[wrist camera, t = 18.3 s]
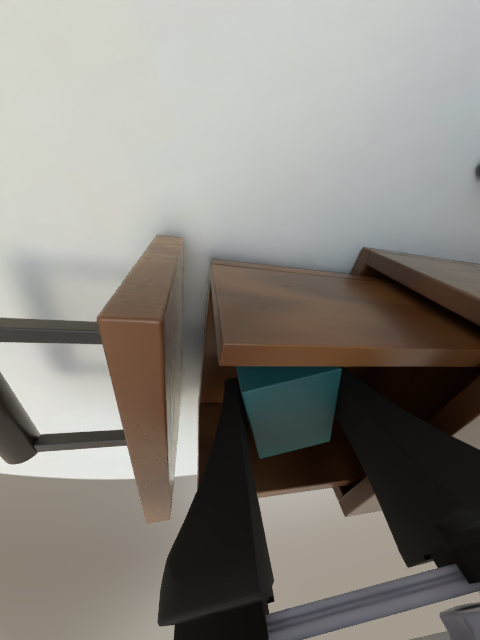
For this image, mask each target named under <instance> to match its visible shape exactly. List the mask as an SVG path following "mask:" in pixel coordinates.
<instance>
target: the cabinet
mask: <svg viewBox="0 0 480 640" xmlns="http://www.w3.org/2000/svg"><path fill="white" fill-rule="evenodd" d="M350 275H359V276H368V277H377V278H386V279H393V280H395V281H397V282H399V283H400V284H402V285H404V286H406V287H408V288H410V289H411V290H413V291H415V292H417V293H419V294H421V295H423V296H424V297H426V298H428V299H430V300H432V301H434V302H436V303H437V304H439V305H441V306H443V307H445V308H447V309H448V310H450V311H452V312H454V313H456V314H458V315H460V316H461V317H463V318H465V319H467V320H469V321H471V322H472V323H474V324H476V325H478V326H480V264H474V263H467V262H461V261H454V260H447V259H440V258H434V257H427V256H420V255H413V254H407V253H400V252H393V251H386V250H380V249H373V248H366V247H364V248H362V251H361V253H360V255H359V257H358V259H357V261H356V263H355V265H354V268H353V270H352V272H351V274H350ZM426 423H428V424H430V425H432V426H434V427H436V428H437V429H439V430H441V431H443V432H445V433H447V434H449V435H451V436H453V437H455V438H457V439H459V440H461V441H463V442H465V443H467V444H469V445H471V446H473V447H475V448H477V449H480V375H478V376H477V377H476V378H475V379H474V380H473V381H472V382H471V383H469V384H468V385H467V386H466V387H465V388H464V389H463V390H462V391H461V392H459V393H458V394H457V395H456V396H455V397H454V398H453V399H452V400H450V401H449V402H448V403H447V404H446V405H445V406H444V407H443V408H441V409H440V410H439V411H438V412H437V413H436V414H435V415H434V416H433V417H431V418H430V419H429V420H428V421H427V422H426ZM333 489H334V492H335V494H336V497H337V499H338V500H339V504H340V506H341V508H342V511H343V513H344V515H345V517H348V516H354V515H359V514H365V513H371V512H376V511H382V509H381V507H380V504H379V502H378V500H377V498H376V495H375V493H374V491H373V489H372V486H371V484H370V482H369V480H368V478H367V476H365V477H364V478H363V479H362V480H361V481H360V482H359V483H358V484H354V485H347V486H340V487H333Z"/></svg>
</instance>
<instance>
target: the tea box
mask: <svg viewBox="0 0 480 640" xmlns="http://www.w3.org/2000/svg"><path fill="white" fill-rule="evenodd" d="M236 368H237V374H238V379H239V384H240V390H241V394H242V398H243V402H244V405H245V409H246V412H247V416H248V420H249V423H250V427H251V431H252V434H253V438H254V441H255V445H256V449H257V452H258V456H259V458H260V459H262V458H266V457H270V456H273V455H277V454H281V453H285V452H289V451H293V450H297V449H301V448H305V447H309V446H313V445H317V444H321V443H325V442H329V441H330V438H331V432H332V426H333V420H334V414H335V408H336V402H337V396H338V390H339V384H340V377H341V371H342V369H341V367H340V366H236Z"/></svg>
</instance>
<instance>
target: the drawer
mask: <svg viewBox="0 0 480 640" xmlns="http://www.w3.org/2000/svg"><path fill="white" fill-rule="evenodd" d="M183 248H184V240H183V238H178V237H170V236H162V235H156V237H155V238H154V239H153V241H152V242H151V244H150V245H149V246H148V248H147V249H146V250H145V252H144V253H143V255H142V256H141V257H140V259H139V260H138V261H137V263H136V264H135V266H134V267H133V268H132V270H131V271H130V272H129V274H128V275H127V277H126V278H125V279H124V281H123V282H122V283H121V285H120V286H119V288H118V289H117V290H116V292H115V293H114V294H113V296H112V297H111V299H110V300H109V301H108V303H107V304H106V305H105V307H104V308H103V310H102V311H101V312H100V314H99V315H98V317H97V322H87V321H64V320H40V319H17V318H0V342H25V343H70V344H103V348H104V352H105V356H106V360H107V364H108V368H109V372H110V376H111V381H112V385H113V389H114V393H115V397H116V401H117V405H118V409H119V414H120V418H121V422H122V426H123V430H110V431H93V432H75V433H58V434H42V435H40V433H39V432H38V430H37V428H36V427H35V425H34V424H33V422H32V421H31V419H30V417H29V416H28V414H27V413H26V411H25V410H24V408H23V407H22V405H21V403H20V402H19V400H18V399H17V397H16V396H15V394H14V392H13V391H12V389H11V388H10V386H9V385H8V383H7V382H6V380H5V378H4V377H3V375H2V374H1V372H0V456H1V457H2V458H3V459H4V460H5V462H7V463H8V464H20V463H23V462H25V461H27V460H29V459H31V458H32V457H33V456H35V455H36V454H37V453H38V452H44V451H58V450H72V449H86V448H99V447H113V446H127V447H128V451H129V455H130V459H131V463H132V467H133V471H134V475H135V480H136V484H137V488H138V492H139V496H140V500H141V504H142V508H143V512H144V517H145V521H146V523H152V522H160V521H166V520H170V518H171V509H172V497H173V496H172V495H173V485H174V474H175V462H176V451H177V439H178V427H179V416H180V404H181V352H182V300H183ZM236 366H343V367H345V368H346V369H347V370H348V371H350V372H351V373H352V374H353V375H355V376H356V377H357V378H359V379H360V380H361V381H363V382H364V383H365V384H367V385H368V386H369V387H371V388H372V389H374V390H375V391H376V392H378V393H379V394H381V395H382V396H384V397H385V398H387V399H388V400H390V401H391V402H393V403H394V404H396V405H397V406H399V407H401V408H402V409H404V410H405V411H407V412H409V413H410V414H412V415H414V416H416V417H417V418H419V419H421V420H423V421H424V422H427V421H428V420H429V419H430V418H431V417H433V416H434V415H435V414H436V413H437V412H438V411H439V410H440V409H441V408H443V407H444V406H445V405H446V404H447V403H448V402H449V401H450V400H452V399H453V398H454V397H455V396H456V395H457V394H458V393H459V392H461V391H462V390H463V389H464V388H465V387H466V386H467V385H468V384H469V383H471V382H472V381H473V380H474V379H475V378H476V377H477V376H478V375H480V326H478V325H476V324H474V323H472V322H471V321H469V320H467V319H465V318H463V317H461V316H460V315H458V314H456V313H454V312H452V311H450V310H448V309H447V308H445V307H443V306H441V305H439V304H437V303H436V302H434V301H432V300H430V299H428V298H426V297H424V296H423V295H421V294H419V293H417V292H415V291H413V290H411V289H410V288H408V287H406V286H404V285H402V284H400V283H399V282H397V281H395V280H393V279H386V278H377V277H368V276H359V275H350V274H341V273H333V272H324V271H315V270H306V269H297V268H288V267H279V266H271V265H262V264H253V263H244V262H235V261H226V260H218V259H212V260H211V266H210V277H209V288H208V299H207V310H206V321H205V332H204V343H203V354H202V365H201V376H200V387H199V398H198V479H197V480H198V481H197V482H198V485H197V490H198V487H199V484H200V482H201V479H202V476H203V473H204V471H205V468H206V465H207V462H208V459H209V456H210V453H211V449H212V446H213V442H214V439H215V435H216V431H217V427H218V423H219V418H220V413H221V408H222V401H223V394H224V381H225V380H227V379H231V378H235V377H237V380H238V383H239V379H238V374H237V368H236ZM239 387H240V384H239ZM240 391H241V390H240ZM244 407H245V405H244ZM245 412H246V409H245ZM246 417H247V426H248V435H249V444H250V453H251V462H252V469H253V475H254V480H255V486H256V491H257V496H258V498H261V497H268V496H275V495H283V494H290V493H297V492H304V491H311V490H318V489H326V488H333V487H340V486H347V485H354V484H358V483H359V482H360V481H361V480H362V479H363V478H364V477H365V476H366V473H365V471H364V469H363V467H362V465H361V463H360V461H359V459H358V457H357V455H356V453H355V451H354V448H353V447H352V445H351V443H350V441H349V439H348V437H347V436H346V434H345V432H344V431H343V429H342V427H341V426H340V424H339V422H338V421H337V419H336V417H335V416H334V420H333V426H332V432H331V438H330V441H329V442H325V443H321V444H317V445H313V446H309V447H305V448H301V449H297V450H293V451H289V452H285V453H281V454H277V455H273V456H270V457H266V458H262V459H260V458H259V456H258V452H257V449H256V445H255V441H254V438H253V434H252V431H251V427H250V423H249V420H248V416H247V412H246Z"/></svg>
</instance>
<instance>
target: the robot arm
mask: <svg viewBox="0 0 480 640" xmlns="http://www.w3.org/2000/svg"><path fill="white" fill-rule="evenodd" d="M340 367H341V369H342V371H341V377H340V384H339V390H338V396H337V402H336V408H335V414H334V416H335V417H336V419H337V421H338V422H339V424H340V426H341V427H342V429H343V431H344V432H345V434H346V436H347V437H348V439H349V441H350V443H351V445H352V447H353V448H354V451H355V453H356V455H357V457H358V459H359V461H360V463H361V465H362V467H363V469H364V471H365V473H366V476H367V478H368V480H369V482H370V484H371V486H372V489H373V491H374V493H375V495H376V498H377V500H378V502H379V504H380V507H381V509H382V511H383V513H384V515H385V518H386V521H387V523H388V525H389V528H390V530H391V532H392V535H393V537H394V540H395V542H396V545H397V547H398V550H399V552H400V554H401V556H402V558H403V560H404V562H405V563H406V565H407V567H408V568H409V567H413V566H416V565H420V564H424V563H427V562H431V561H434V562H435V564H436V565H437V567H438V568H437V569H433V570H429V571H426V572H422V573H419V574H415V575H411V576H407V577H403V578H400V579H396V580H393V581H389V582H385V583H381V584H378V585H374V586H370V587H367V588H363V589H359V590H356V591H352V592H348V593H344V594H341V595H337V596H333V597H330V598H326V599H322V600H319V601H315V602H311V603H307V604H304V605H301V606H297V607H293V608H289V609H285V610H282V611H278V612H275V613H271V614H269V610H268V603H271V602H274V596H273V590H272V585H273V582H274V578H273V573H272V568H271V563H270V558H269V554H268V549H267V543H266V538H265V533H264V528H263V523H262V517H261V512H260V507H259V502H258V496H257V491H256V486H255V480H254V475H253V469H252V462H251V453H250V444H249V435H248V426H247V417H246V412H245V407H244V402H243V398H242V394H241V391H240V387H239V383H238V380H237V377H235V378H231V379H227V380H225V381H224V394H223V401H222V408H221V413H220V418H219V423H218V427H217V431H216V435H215V439H214V442H213V446H212V449H211V453H210V456H209V459H208V462H207V465H206V468H205V471H204V473H203V476H202V479H201V482H200V484H199V487H198V490H197V492H196V494H195V497H194V499H193V502H192V504H191V507H190V509H189V512H188V514H187V516H186V518H185V521H184V523H183V525H182V527H181V529H180V531H179V534H178V536H177V538H176V540H175V542H174V544H173V546H172V548H171V551H170V553H169V555H168V558H167V561H166V565H165V569H164V574H163V579H162V584H161V590H160V601H159V612H158V625H159V626H168V625H175V630H174V640H303V639H306V638H310V637H313V636H317V635H321V634H324V633H328V632H332V631H335V630H339V629H342V628H346V627H349V626H353V625H357V624H360V623H364V622H367V621H371V620H375V619H379V618H382V617H386V616H389V615H393V614H397V613H401V612H404V611H408V610H411V609H415V608H419V607H422V606H426V605H430V604H433V603H437V602H440V601H444V600H448V599H451V598H455V597H458V596H462V595H466V594H470V593H473V592H477V591H480V449H477V448H475V447H473V446H471V445H469V444H467V443H465V442H463V441H461V440H459V439H457V438H455V437H453V436H451V435H449V434H447V433H445V432H443V431H441V430H439V429H437V428H436V427H434V426H432V425H430V424H428V423H426V422H424V421H423V420H421V419H419V418H417V417H416V416H414V415H412V414H410V413H409V412H407V411H405V410H404V409H402V408H401V407H399V406H397V405H396V404H394V403H393V402H391V401H390V400H388V399H387V398H385V397H384V396H382V395H381V394H379V393H378V392H376V391H375V390H374V389H372V388H371V387H369V386H368V385H367V384H365V383H364V382H363V381H361V380H360V379H359V378H357V377H356V376H355V375H353V374H352V373H351V372H350V371H348V370H347V369H346V368H345V367H343V366H340ZM440 618H441V620H442V622H443V623H444V625H445V627H446V629H447V632H442V633H437V634H433V635H428V636H424V637H419V638H415V639H410V640H480V602H479V603H471V604H464V605H460V606H456V607H453V608H450V609H448V610H446V611H443V612H440Z"/></svg>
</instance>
